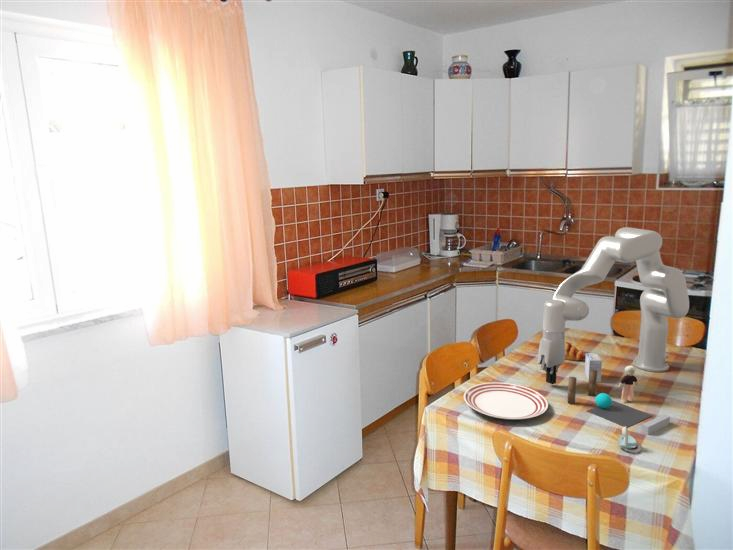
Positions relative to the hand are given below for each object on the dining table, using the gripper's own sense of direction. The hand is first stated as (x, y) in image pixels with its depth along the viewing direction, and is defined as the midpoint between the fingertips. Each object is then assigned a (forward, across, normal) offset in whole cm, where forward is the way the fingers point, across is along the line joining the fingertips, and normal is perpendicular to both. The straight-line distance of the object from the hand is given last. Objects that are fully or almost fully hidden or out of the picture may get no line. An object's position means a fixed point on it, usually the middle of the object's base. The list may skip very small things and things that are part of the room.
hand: (550, 382), depth 199 cm
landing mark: (+2, 0, +27) cm, 27 cm away
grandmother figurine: (+2, -11, +23) cm, 26 cm away
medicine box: (+2, -19, +4) cm, 19 cm away
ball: (-1, 0, +22) cm, 22 cm away
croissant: (+2, -30, -18) cm, 35 cm away
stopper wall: (+2, 0, +39) cm, 39 cm away
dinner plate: (+2, +26, +2) cm, 26 cm away
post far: (+2, +6, +13) cm, 14 cm away
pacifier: (+2, +17, +41) cm, 45 cm away
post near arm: (+2, -6, +13) cm, 14 cm away
